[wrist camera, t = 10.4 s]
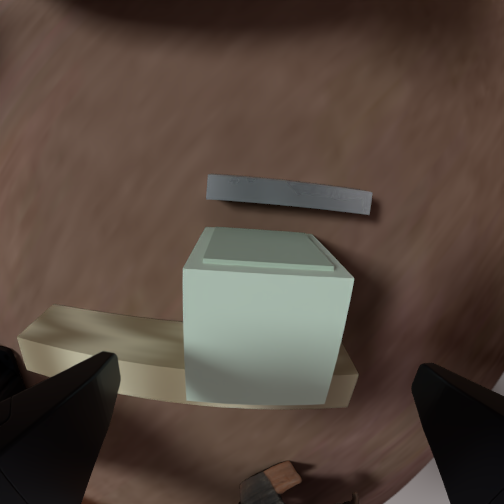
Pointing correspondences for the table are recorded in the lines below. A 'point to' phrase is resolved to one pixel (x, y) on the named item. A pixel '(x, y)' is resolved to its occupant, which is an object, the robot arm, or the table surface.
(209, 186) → the strip
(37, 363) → the wall board
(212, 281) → the cabinet block
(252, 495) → the brown hollow fragmented part
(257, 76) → the table surface
